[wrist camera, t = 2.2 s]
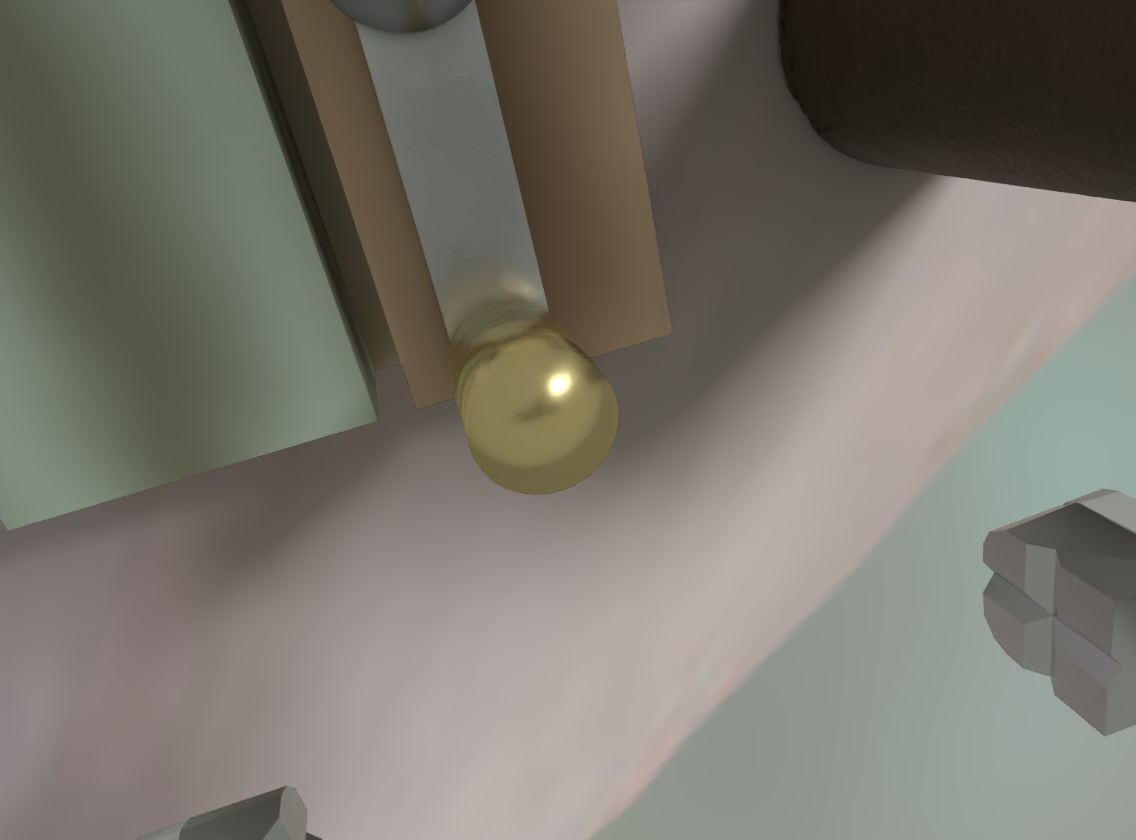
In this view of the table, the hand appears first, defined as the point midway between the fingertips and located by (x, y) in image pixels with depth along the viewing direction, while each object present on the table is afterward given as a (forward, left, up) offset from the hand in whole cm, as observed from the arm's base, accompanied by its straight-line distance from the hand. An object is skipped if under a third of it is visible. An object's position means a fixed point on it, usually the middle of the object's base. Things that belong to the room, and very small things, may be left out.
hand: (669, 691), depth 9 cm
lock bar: (0, -5, -12) cm, 13 cm away
